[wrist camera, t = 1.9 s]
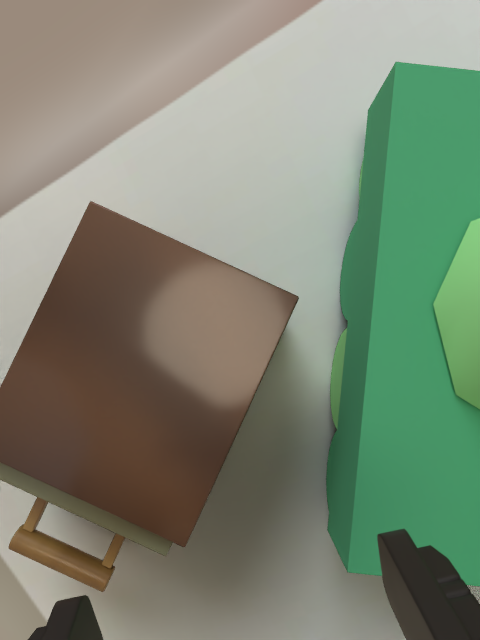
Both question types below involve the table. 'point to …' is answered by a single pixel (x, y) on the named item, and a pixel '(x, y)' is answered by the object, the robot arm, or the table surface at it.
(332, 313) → the table surface
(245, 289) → the cabinet
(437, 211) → the toy tank
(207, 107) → the table surface
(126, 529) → the drawer
